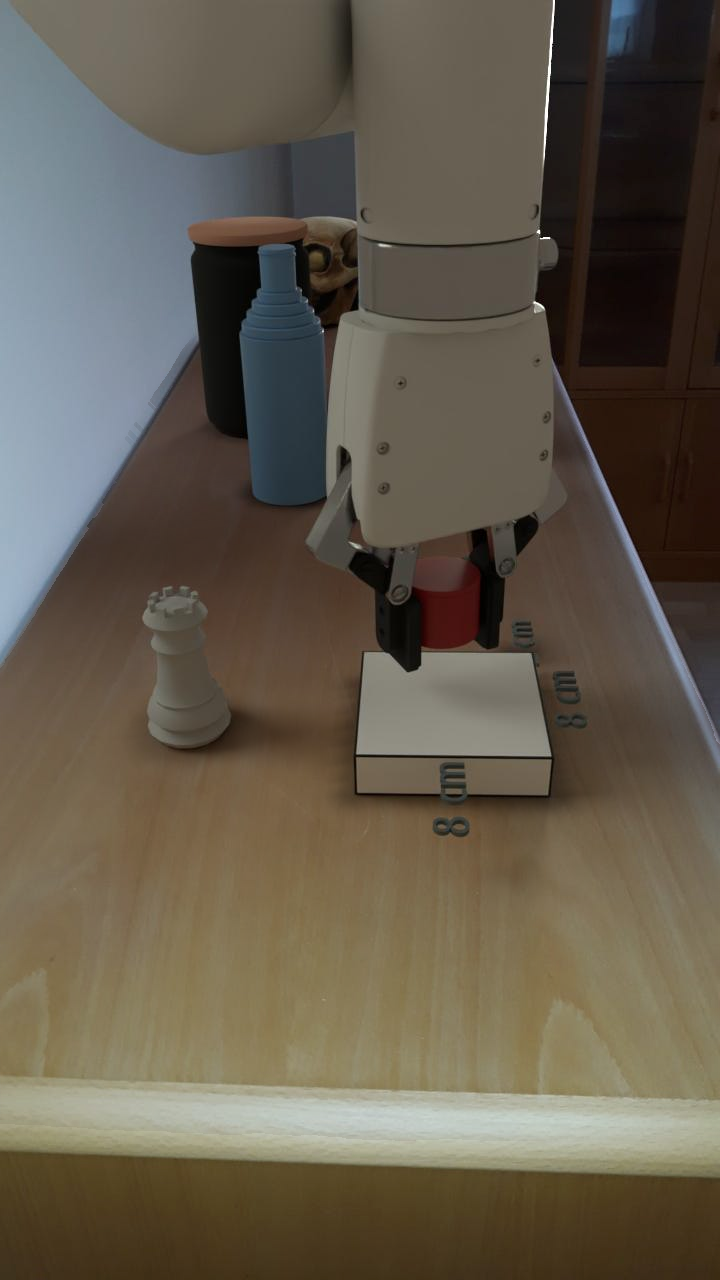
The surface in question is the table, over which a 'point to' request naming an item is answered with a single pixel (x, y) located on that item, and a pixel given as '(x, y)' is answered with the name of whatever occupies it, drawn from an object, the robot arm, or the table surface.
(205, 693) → the rook chess piece
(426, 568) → the cap
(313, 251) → the skull
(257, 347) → the bottle
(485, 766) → the container
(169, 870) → the table surface
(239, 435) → the coffee jar
